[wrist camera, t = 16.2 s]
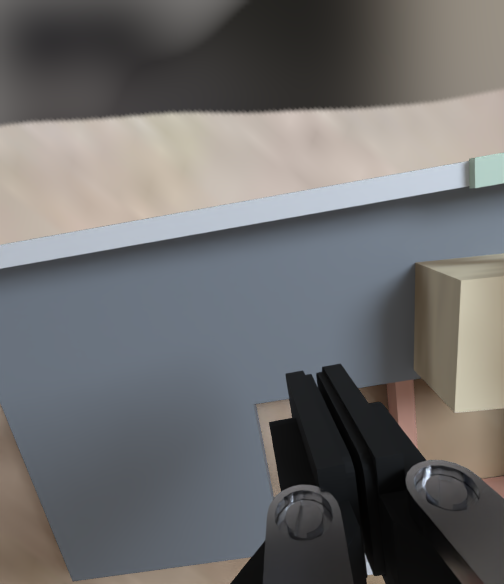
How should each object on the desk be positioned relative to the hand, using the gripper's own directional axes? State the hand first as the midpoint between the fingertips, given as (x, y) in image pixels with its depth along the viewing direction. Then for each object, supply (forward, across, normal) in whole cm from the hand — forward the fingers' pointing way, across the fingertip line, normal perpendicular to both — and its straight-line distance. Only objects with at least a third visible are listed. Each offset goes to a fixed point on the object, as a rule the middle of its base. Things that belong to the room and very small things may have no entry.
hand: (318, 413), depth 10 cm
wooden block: (+8, -10, +1) cm, 13 cm away
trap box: (+10, 0, +4) cm, 11 cm away
